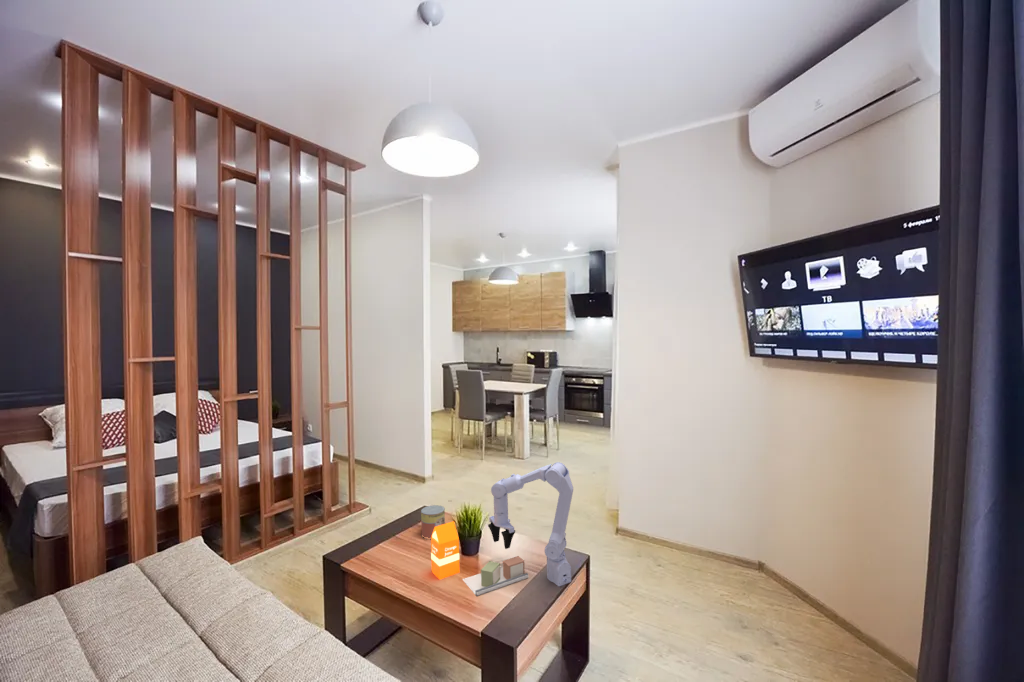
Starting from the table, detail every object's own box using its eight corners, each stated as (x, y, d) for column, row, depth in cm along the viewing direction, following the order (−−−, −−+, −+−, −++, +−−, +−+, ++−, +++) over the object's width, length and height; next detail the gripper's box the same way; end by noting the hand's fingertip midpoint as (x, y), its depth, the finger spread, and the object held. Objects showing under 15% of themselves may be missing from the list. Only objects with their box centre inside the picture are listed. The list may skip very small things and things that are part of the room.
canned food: (433, 541, 199) (433, 516, 199) (416, 536, 205) (416, 511, 205) (450, 532, 208) (449, 507, 208) (433, 527, 214) (432, 503, 214)
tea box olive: (500, 578, 164) (500, 563, 164) (492, 588, 158) (492, 572, 158) (490, 576, 166) (489, 560, 166) (481, 585, 160) (481, 569, 160)
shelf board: (528, 580, 164) (528, 574, 164) (476, 598, 153) (476, 591, 153) (511, 565, 176) (511, 559, 176) (462, 581, 165) (462, 575, 165)
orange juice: (431, 573, 171) (430, 523, 171) (451, 566, 176) (449, 518, 176) (439, 582, 165) (438, 530, 165) (460, 574, 170) (458, 524, 170)
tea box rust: (524, 576, 166) (524, 560, 166) (509, 581, 162) (508, 566, 162) (518, 571, 170) (518, 555, 170) (503, 576, 166) (503, 560, 166)
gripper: (519, 513, 170) (520, 547, 170) (498, 503, 181) (499, 535, 181) (505, 518, 166) (506, 553, 166) (484, 507, 177) (485, 540, 177)
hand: (501, 544), depth 173 cm, fingers open, 7 cm apart
